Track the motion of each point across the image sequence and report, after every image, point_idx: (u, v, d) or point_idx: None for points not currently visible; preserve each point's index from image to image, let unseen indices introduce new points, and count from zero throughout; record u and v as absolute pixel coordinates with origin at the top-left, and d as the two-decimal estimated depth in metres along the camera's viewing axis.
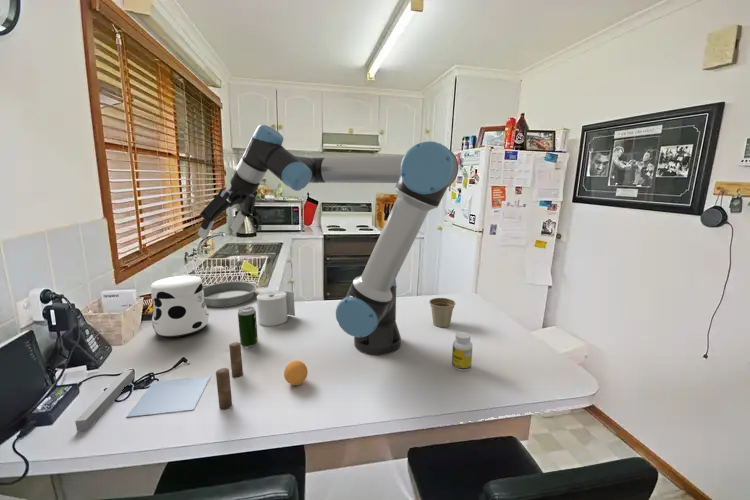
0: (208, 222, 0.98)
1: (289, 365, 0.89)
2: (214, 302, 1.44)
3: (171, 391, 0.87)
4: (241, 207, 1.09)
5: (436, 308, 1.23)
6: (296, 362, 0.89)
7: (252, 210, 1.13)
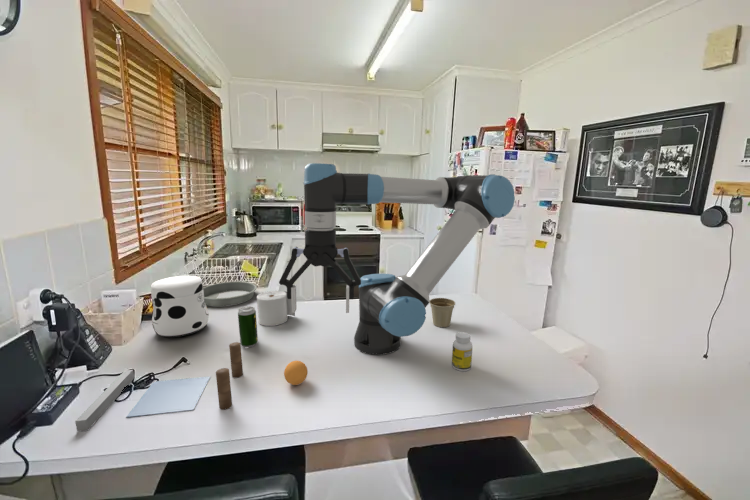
0: None
1: (289, 365, 0.89)
2: (214, 302, 1.44)
3: (171, 391, 0.87)
4: (299, 276, 0.86)
5: (436, 308, 1.23)
6: (296, 362, 0.89)
7: None
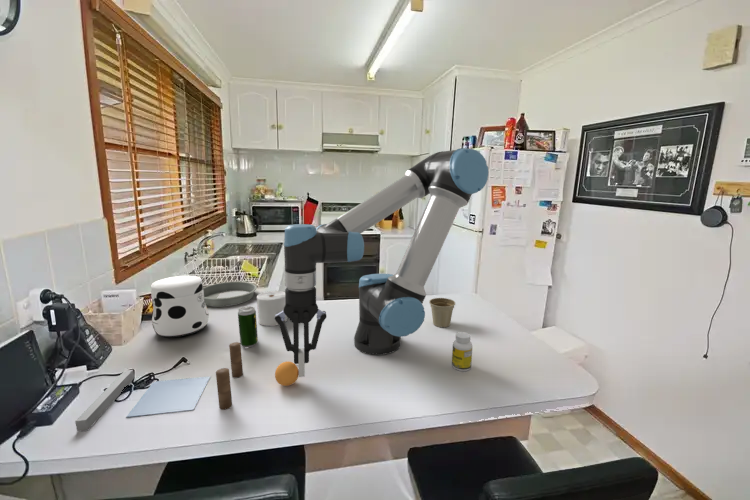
0: None
1: (276, 371, 0.88)
2: (214, 302, 1.44)
3: (171, 391, 0.87)
4: (298, 338, 0.87)
5: (436, 308, 1.23)
6: (280, 365, 0.89)
7: None
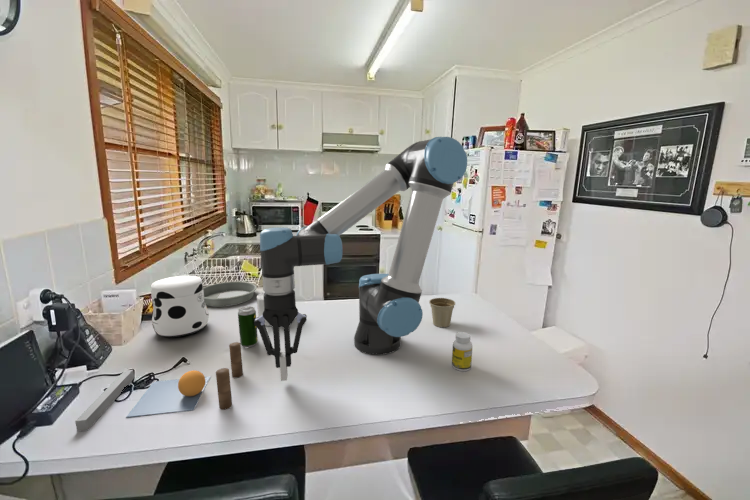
0: None
1: None
2: (214, 302, 1.44)
3: (171, 391, 0.87)
4: (279, 342, 0.87)
5: (436, 308, 1.23)
6: None
7: None
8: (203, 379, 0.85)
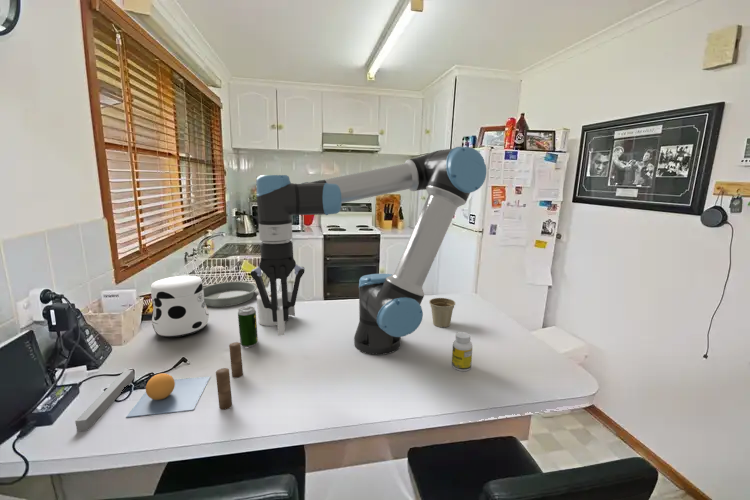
0: None
1: (172, 385, 0.84)
2: (214, 302, 1.44)
3: None
4: (276, 294, 0.84)
5: (436, 308, 1.23)
6: None
7: None
8: (147, 383, 0.83)
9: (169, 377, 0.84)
